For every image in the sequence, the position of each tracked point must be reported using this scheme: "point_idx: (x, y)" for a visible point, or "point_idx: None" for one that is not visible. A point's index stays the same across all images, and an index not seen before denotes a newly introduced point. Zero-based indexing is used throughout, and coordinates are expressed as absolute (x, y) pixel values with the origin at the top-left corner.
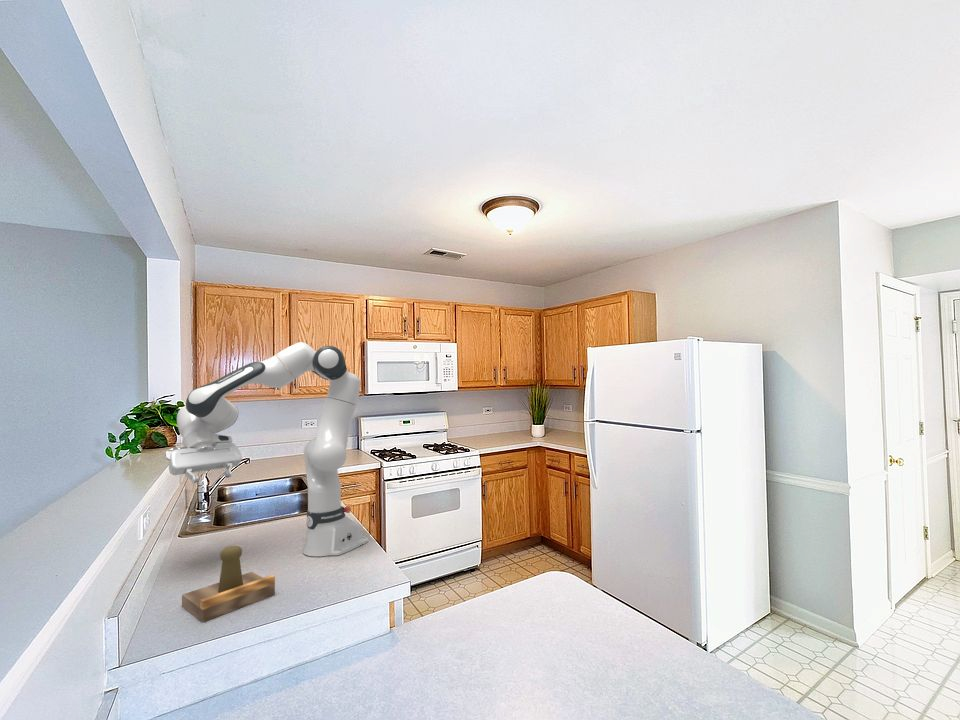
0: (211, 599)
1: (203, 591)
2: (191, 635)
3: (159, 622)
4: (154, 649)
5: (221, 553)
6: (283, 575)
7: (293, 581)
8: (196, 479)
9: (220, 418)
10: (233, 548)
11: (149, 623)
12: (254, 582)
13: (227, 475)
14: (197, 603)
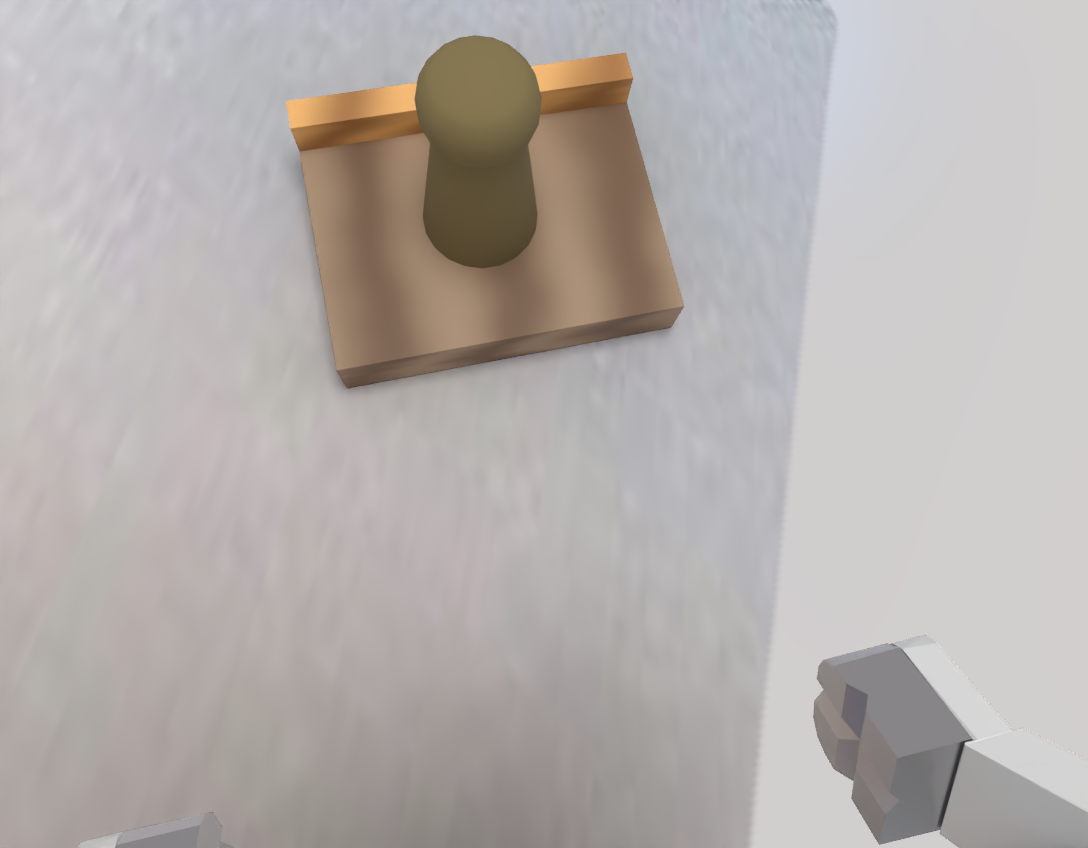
0: (590, 60)
1: (594, 273)
2: (654, 42)
3: (753, 230)
4: (764, 32)
5: (537, 83)
6: (183, 359)
7: (178, 243)
8: (876, 651)
9: None
10: (470, 47)
11: (787, 248)
12: (391, 94)
13: (198, 818)
14: (631, 154)
